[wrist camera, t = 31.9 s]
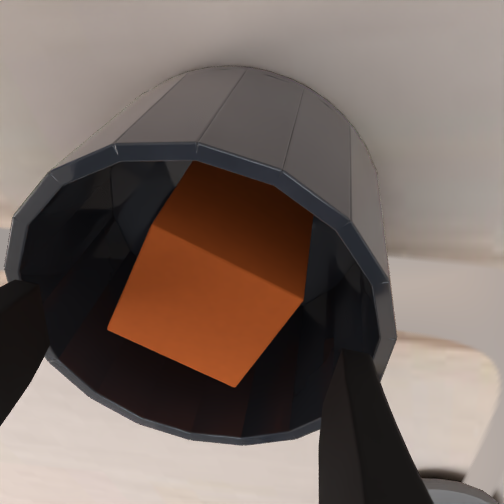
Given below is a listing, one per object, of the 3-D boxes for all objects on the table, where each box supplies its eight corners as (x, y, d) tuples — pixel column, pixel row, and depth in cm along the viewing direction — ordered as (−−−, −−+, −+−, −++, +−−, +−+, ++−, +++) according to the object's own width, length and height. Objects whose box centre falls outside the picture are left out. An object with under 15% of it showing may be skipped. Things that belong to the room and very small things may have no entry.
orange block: (261, 281, 18) (235, 389, 13) (163, 233, 17) (105, 329, 13) (315, 200, 15) (304, 300, 11) (204, 141, 15) (151, 224, 11)
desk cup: (117, 290, 20) (42, 410, 15) (92, 42, 14) (-43, 105, 9) (346, 332, 19) (346, 472, 14) (417, 87, 13) (458, 181, 8)
